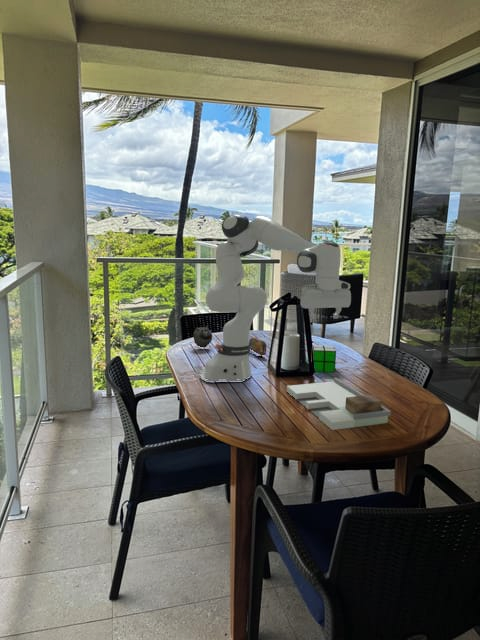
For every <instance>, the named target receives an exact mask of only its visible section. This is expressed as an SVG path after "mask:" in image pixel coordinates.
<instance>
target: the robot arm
mask: <svg viewBox="0 0 480 640" xmlns="http://www.w3.org/2000/svg"><path fill="white" fill-rule="evenodd" d="M221 230H222V233H223V234H224V236H225V237H226V239H227V240H226V241H222V242H221V243H219V244H218V245H217V247H216V248H215V262H216V263H215V264H216V268H217V269H216V270H217V275H218V276H217V281H216V283H215V284H214V286H211V288H209V290H208V291H207V293H206V296H205V303H206V304H205V305H206V306H207V308H208V309H209V310H210V311H211V312H216V313H223V314H224V313H236V314H235V316H234V317H233V318H232V319H231V320H229V321H228V322H226V323H225V324H224V326H223V327H222V344H220V343H216V344H215V347H214V348H216V349H217V351H218V352H217V353H216V354H215V355H213V356H212V357H211V358H209V359H208V360H206V363H205V366H204V371H200V372H199V375H200V376H201V378H203V379H204V380H205V379H208V380H206V381H219V379H226V381H228V380H229V381H243V380H245V379H246V378H248V377H250V376H251V375H252V376H253V374H252V370H251V365H250V357H251V352H250V344H249V341H250V331H251V326H252V323H253V320H254V319H255V317H256V315H258V314H259V312H261V311H262V310H263V309H265V307H266V304H267V301H268V297H267V293H266V291H265V289H263V288H262V287H260V286H254V285H239V284H240V283H241V282H242V281H243V280H244V277H245V272H244V267H243V263H242V258H243V257H247V256H251V255H252V254H253V253H255V252H256V251H257V250H258V247H259V243H261V244H262V245H264V246H265V247H267V248H269V249H271V250H274V251H278V252H279V251H283V252H284V251H286V252H296V253H298V254H297V257H296V265H297V268H298V270H299V271H300V272H302V273H305V274H315V282H314V283H312V284H311V283H310V284H309V283H306V284H305V285H303V286H302V287H301V297H300V306H301V308H303V309H308V311H309V313H310V319H311V320H317V314H315V309H328V308H330V309H331V308H332V309H333V308H335V312H334V313H332V315H333V316H332V318H333V319H334V320H335V319H336V320H337V319H339V315H340V313H341V311H342V308H349V307H350V306H351V303H352V293H351V290H350V289H351V283H349V282H347V281H344V280H341V279H340V273H339V272H340V271H339V270H340V266H341V258H342V257H341V248H340V245H339V244H338V243H337V242H335V241H330V240H322V241H319V242H318V243H317V244H316V243H314V242H312V241H310V240H309V239H307V238H305V237H302V236H300V235H299V234H297V233H296V232H293V231H291V230H290V229H288V228H287V227H285V226H283V225H282V224H280V223H278V222H277V221H275V220H273V219H271V218H270V217H267V216H263V215H257V216H256V217H254V218H253V219H252V220H249V218H248V216H241V215H239V214H232V215H231V214H230V215H228V216H226V217H225V219H224V220H223V221H222V223H221ZM200 373H204V374H200ZM237 379H241V380H237Z"/></svg>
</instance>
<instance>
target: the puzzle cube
mask: <svg viewBox="0 0 480 640" xmlns="http://www.w3.org/2000/svg"><path fill="white" fill-rule="evenodd" d="M312 349H313V360H314V367H315V371H316V372H315V373H336V361H337V360H336V358H337V356H336V355H337V351H336V348H335V346H334V345H324V344H323V345H322V344H321V345H319V344H318V345H317V344H313V345H312V347H311V350H312Z"/></svg>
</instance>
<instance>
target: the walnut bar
mask: <svg viewBox="0 0 480 640" xmlns="http://www.w3.org/2000/svg"><path fill="white" fill-rule="evenodd" d="M382 401H383V400H381V399H379V398H378V397H376V396H374V395H373V394H364V396H355V397H346V405H345V409H347V410H348V411H349V412H351V413H352V414H360V413H368V412H377V411H381V405H382V403H383V402H382Z"/></svg>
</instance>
